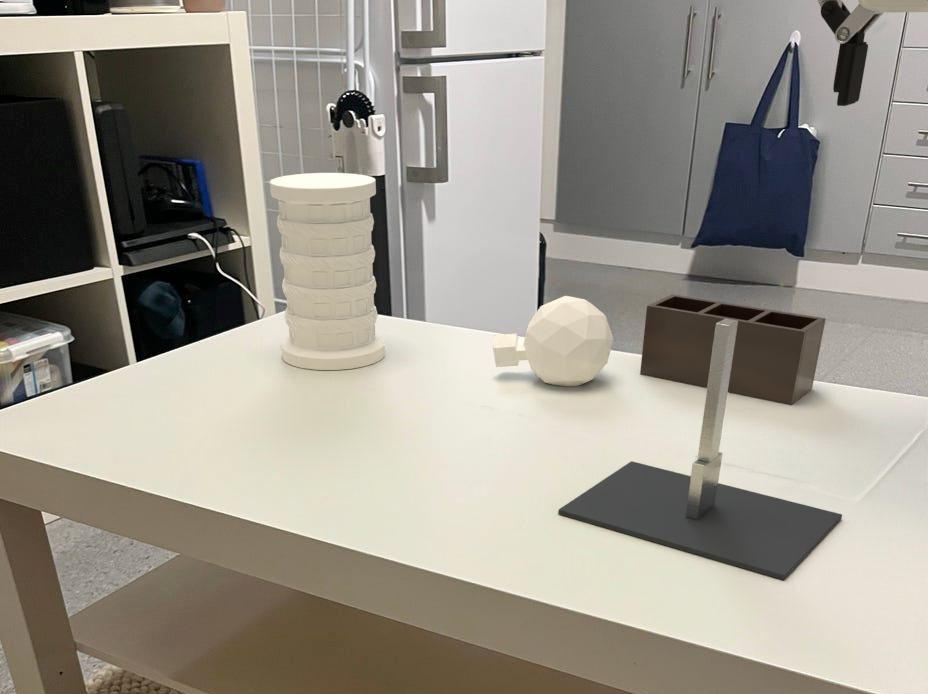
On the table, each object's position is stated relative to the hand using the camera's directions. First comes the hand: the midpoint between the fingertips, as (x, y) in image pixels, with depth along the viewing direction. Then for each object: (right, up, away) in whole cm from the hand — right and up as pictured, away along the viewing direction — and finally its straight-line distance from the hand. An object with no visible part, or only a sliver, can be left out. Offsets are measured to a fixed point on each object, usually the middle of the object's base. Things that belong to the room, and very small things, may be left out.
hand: (914, 106), depth 74 cm
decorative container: (-47, -7, +40) cm, 62 cm away
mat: (-15, -29, +4) cm, 33 cm away
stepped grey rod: (-15, -29, +4) cm, 33 cm away
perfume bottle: (-23, -12, +32) cm, 41 cm away
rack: (-6, -13, +30) cm, 33 cm away
